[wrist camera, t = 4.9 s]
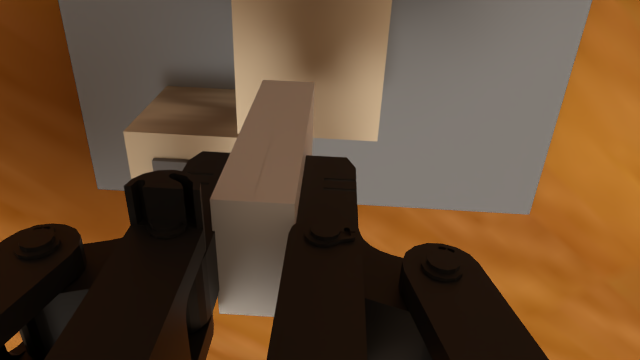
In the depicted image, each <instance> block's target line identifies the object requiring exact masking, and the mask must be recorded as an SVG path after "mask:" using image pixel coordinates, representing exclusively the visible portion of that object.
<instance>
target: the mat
mask: <svg viewBox="0 0 640 360" xmlns="http://www.w3.org/2000/svg"><path fill="white" fill-rule="evenodd" d="M58 2H59V7H60V12H61V16H62V21H63V26H64V30H65V35H66V40H67V45H68V49H69V54H70V59H71V64H72V68H73V73H74V78H75V83H76V87H77V92H78V97H79V102H80V106H81V111H82V116H83V121H84V125H85V130H86V135H87V140H88V144H89V149H90V154H91V159H92V163H93V168H94V173H95V178H96V182H97V187H98V189H105V190H122V191H124V185H125V184H126V183H128V182H129V181H130V180H131V174H130V169H129V163H128V157H127V151H126V145H125V139H124V133H123V131H124V130H125V129H126V128H127V127H128V126H129V125H130V124H131V123H132V122H133V121H134V120H135V119H136V118H137V116H138V115H139V114H140V113H141V112H142V111H143V110H144V109H145V108H146V107H147V106H148V105H149V104H150V103H151V102H152V101H153V100H154V99H155V98H156V97H157V96H158V95H159V93H160V92H161V91H162V90H163V89H164V88H165V87H166V86H178V87H197V88H215V89H234V90H235V69H234V48H233V27H232V6H231V0H58ZM591 3H592V0H392V7H391V16H390V26H389V35H388V45H387V54H386V64H385V73H384V83H383V92H382V102H381V111H380V121H379V130H378V140H377V141H360V140H343V139H325V138H313V143H312V156H330V157H347V158H348V159H349V160H350V162H351V163H352V164H353V165H354V166H355V168H356V183H357V204H360V205H377V206H394V207H410V208H427V209H444V210H461V211H478V212H495V213H512V214H529V213H530V210H531V207H532V203H533V200H534V196H535V193H536V190H537V186H538V183H539V179H540V176H541V173H542V169H543V166H544V162H545V159H546V156H547V152H548V149H549V145H550V142H551V139H552V135H553V132H554V128H555V125H556V122H557V118H558V115H559V111H560V108H561V105H562V101H563V98H564V94H565V91H566V88H567V84H568V81H569V77H570V74H571V71H572V67H573V64H574V60H575V57H576V54H577V50H578V47H579V43H580V40H581V37H582V33H583V30H584V26H585V23H586V20H587V16H588V13H589V9H590V6H591Z"/></svg>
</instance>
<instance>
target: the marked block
mask: <svg viewBox="0 0 640 360" xmlns="http://www.w3.org/2000/svg"><path fill="white" fill-rule="evenodd" d="M123 133H124V139H125V145H126V151H127V157H128V163H129V169H130V174H131V179H133V178H135V177H137V176H139V175H142V174H144V173H148V172H153V171H157V170H178V171H182V170H183V169H184V167H185V165H186V164H187V162H188V160H190V159H191V158H193V157H194V156H196V155H197V154H199V153H201V152H202V151H209V152H227V153H231V151H232V148H233V146H234V144H235V142H236V139H237V137H238V135H239V134H238V133H237V112H236V91H235V90H234V89H215V88H197V87H178V86H166V87H165V88H164V89H163V90H162V91H161V92H160V93H159V95H158V96H157V97H156V98H155V99H154V100H153V101H152V102H151V103H150V104H149V105H148V106H147V107H146V108H145V109H144V110H143V111H142V112H141V113H140V114H139V115H138V116H137V118H136V119H135V120H134V121H133V122H132V123H131V124H130V125H129V126H128V127H127V128H126V129H125V130H124V131H123Z"/></svg>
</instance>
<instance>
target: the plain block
mask: <svg viewBox="0 0 640 360" xmlns="http://www.w3.org/2000/svg"><path fill="white" fill-rule="evenodd" d="M231 6H232V27H233V48H234V69H235V91H236V112H237V133H238V134H239V133H240V130H241V128H242V126H243V124H244V121H245V119H246V117H247V115H248V112H249V110H250V108H251V106H252V103H253V101H254V99H255V97H256V94H257V92H258V90H259V88H260V85H261V83H262V81H263V80H277V81H297V82H315V84H314V113H313V138H325V139H343V140H360V141H377V140H378V130H379V121H380V111H381V102H382V92H383V83H384V73H385V64H386V54H387V45H388V35H389V26H390V16H391V7H392V0H231Z"/></svg>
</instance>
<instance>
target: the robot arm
mask: <svg viewBox="0 0 640 360" xmlns="http://www.w3.org/2000/svg"><path fill="white" fill-rule="evenodd" d="M314 84H315V82H297V81H277V80H263V81H262V83H261V85H260V88H259V90H258V92H257V94H256V97H255V99H254V101H253V103H252V106H251V108H250V110H249V112H248V115H247V117H246V119H245V121H244V124H243V126H242V128H241V130H240V133H239V135H238V137H237V139H236V142H235V144H234V146H233V148H232V151H231V153H227V152H209V151H202V152H201V153H199V154H197V155H196V156H194V157H193V158H191V159H190V160H188V162H187V164H186V165H185V167H184V169H183V170H182V171H178V170H157V171H153V172H148V173H144V174H142V175H139V176H137V177H135V178H133V179H131V180H130V181H129V182H128V183H126V184H125V185H124V191H125V196H126V202H127V207H128V213H129V218H130V224H131V226H130V227H129V229H128V230H127V232H126V233H125V235H124V236H123V238H119V239H114V240H109V241H102V242H95V243H88V244H83V243H82V239H81V235H80V234H79V233H78V231H77V230H76V229H75V228H72V227H70V226H68V225H63V224H44V225H36V226H33V227H30V228H27V229H24V230H21V231H19V232H17V233H15V234H13V235H11V236H10V237H8V238H6V239H5V240H3V241H2V242H0V360H206V357H207V354H208V350H209V347H210V344H211V340H212V337H213V330H214V323H213V309H214V306H215V303H216V299H217V296H218V303H219V313H220V314H237V315H253V316H270V317H274V320H273V326H272V332H271V338H270V343H269V349H268V355H267V360H549V359H548V358H547V356H546V355H545V354H544V352H543V351H542V349H541V348H540V347H539V345H538V344H537V343H536V341H535V340H534V338H533V337H532V336H531V334H530V333H529V332H528V330H527V329H526V328H525V326H524V325H523V323H522V322H521V321H520V319H519V318H518V317H517V315H516V314H515V312H514V311H513V310H512V308H511V307H510V306H509V304H508V303H507V301H506V300H505V299H504V297H503V296H502V295H501V293H500V292H499V290H498V289H497V288H496V286H495V285H494V284H493V282H492V281H491V279H490V278H489V277H488V275H487V274H486V273H485V271H484V270H483V268H482V267H481V266H480V264H479V263H478V262H477V261H476V260H475V259H474V258H473V257H472V256H471V255H470V254H468V253H466V252H464V251H462V250H460V249H458V248H456V247H453V246H449V245H445V244H437V243H426V244H422V245H418V246H414V247H413V248H411V249H410V250H409V251H407V252H406V253H405V256H404V258H401V257H397V256H394V255H390V254H387V253H384V252H382V251H379V250H377V249H376V248H374V247H372V246H370V245H369V244H368V243H367V242H366V241H365V240H364V239H363V238H362V236H361V234H360V231H359V228H358V208H357V183H356V168H355V166H354V165H353V164H352V163H351V162H350V160H349V159H348V158H347V157H330V156H312V143H313V113H314ZM18 331H20V334H21V337H22V340H23V342H22V343H21V344H20V345H19V346H17V347H16V348H14V349H13V350H11V351H10V352H8V351H7V350H6V347H5V345H4V344H5V343H6V342H7V341H9V340H10V339H11V338H12V337H13V336H14V335H15V334H16V333H17V332H18Z"/></svg>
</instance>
